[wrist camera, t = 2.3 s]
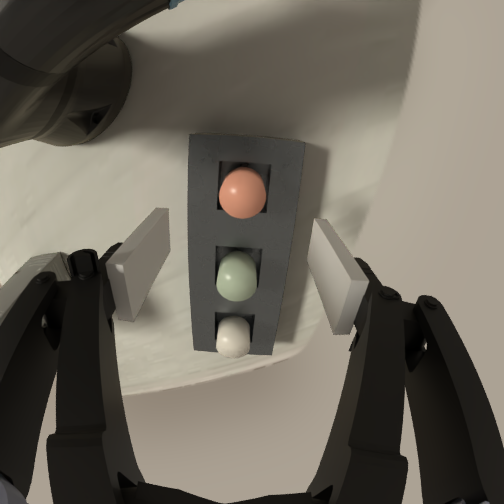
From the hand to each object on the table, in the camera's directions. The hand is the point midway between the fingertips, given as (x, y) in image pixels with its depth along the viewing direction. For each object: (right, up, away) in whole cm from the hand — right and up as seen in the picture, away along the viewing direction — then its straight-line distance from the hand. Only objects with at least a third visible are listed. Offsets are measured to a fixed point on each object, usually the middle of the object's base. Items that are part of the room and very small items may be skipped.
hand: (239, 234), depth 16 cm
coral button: (0, +5, +11) cm, 12 cm away
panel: (-1, -1, +18) cm, 18 cm away
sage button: (-1, -3, +15) cm, 15 cm away
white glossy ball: (-2, -11, +19) cm, 22 cm away
